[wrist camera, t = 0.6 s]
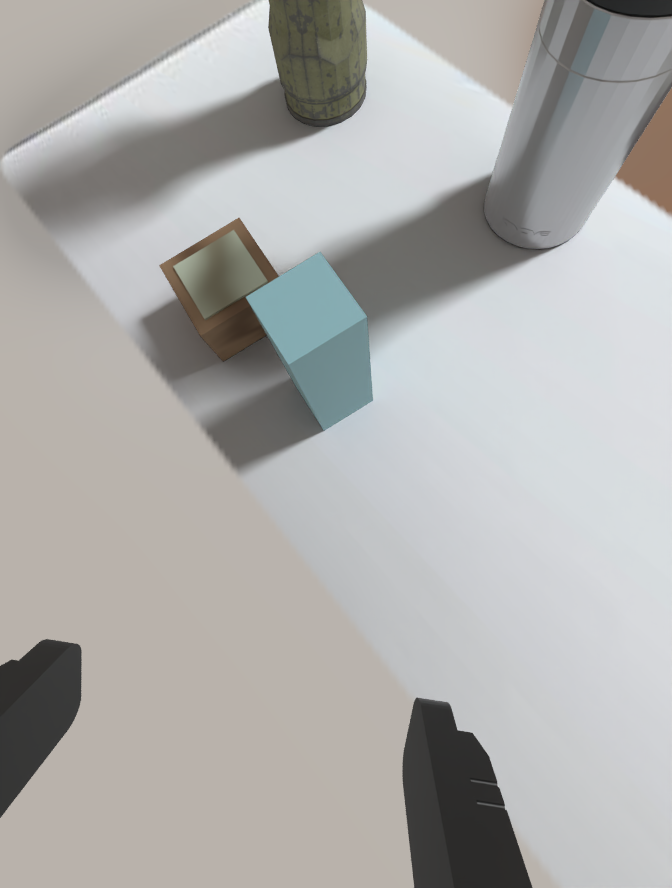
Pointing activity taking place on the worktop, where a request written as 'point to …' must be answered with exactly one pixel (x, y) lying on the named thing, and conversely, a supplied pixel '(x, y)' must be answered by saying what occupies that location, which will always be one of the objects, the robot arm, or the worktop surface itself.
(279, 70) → the thermos
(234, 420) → the worktop surface
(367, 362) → the teal block
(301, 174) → the worktop surface
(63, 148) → the worktop surface
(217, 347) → the walnut base
